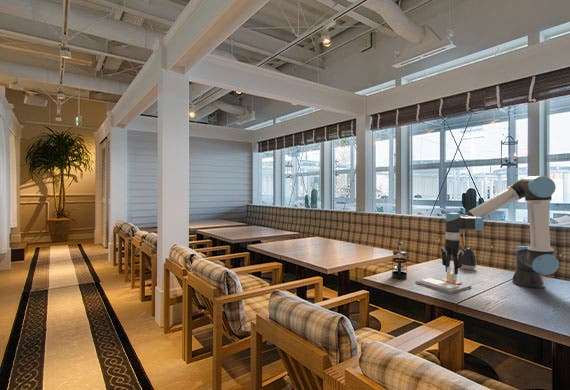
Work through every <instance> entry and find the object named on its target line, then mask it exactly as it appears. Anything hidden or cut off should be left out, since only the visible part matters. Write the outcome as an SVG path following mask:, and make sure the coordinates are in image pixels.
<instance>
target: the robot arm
mask: <svg viewBox="0 0 570 390" xmlns="http://www.w3.org/2000/svg"><path fill="white" fill-rule="evenodd" d="M555 183H556V182H554V180H553V179H551V178H550V177H549V176H545V175H534V176H532V175H531V176H524V177H522V178H520V179H519V180H517V181H515V182H513V183H512V184H510V185H509V186H507V187H506V189H505V190H504V191H501V192H500V193H498V194H496V195H495V196H493V197H491V198H489V199H488V200H485V201H484V202H483V203H480V204H479V205H477V206H476V207H474V208H472V209H469V210H468V211H467V212H464V213H462V214H460V213H459V212H447V213H446V214H445V231H444V234H445V239H444V245H445V246H444V247H443V248H440V252H441V261H442V262H441V264H442V266H444V267H445V273H447V272H453V280H456V279H458V278H457V276H458V274H459V269H463V268H462V260H463V255H464V252H463V251H462V250H461V249H460V243H461V241H460V238H461V234H460V233H461V230H467V231H468V230H470V231H481V230H483V228H484V225H485V223H484V218H485V217H487V216H489V215H491V214H492V213H495V212H497V211H498V210H500V209H501V208H503V207H505V206H507V205H508V204H511V203H512V202H515V201H519V200H522V199H523V198H524V200H525V202H527V204H528V215H529V216H528V217H529V220H528V221H529V236H530V237H529V238H530V239H529V242H530V245H518V246H517V247H516V250H515V251H516V254H515V256H516V257H515V260H516V262H515V272H514V274H513V276H512V277H511V282H512V284H514V285H516V286H520V287H525V288H530V289H531V288H533V289H542V288H544V286H545V285H544V284H545V283H544V279H543V277H542V275H543V276H544V275H545V276H547V275H553V274H554V273H555V272H556V271H557V270H558V269H559V266H560V262H559V259H558V258H557V257H556V256H555V249H554V248H553V247H551V236H550V215H549V214H550V212H549V203H550V202H551V201H552V199H553V198H552V197H553V194H554V193H555V192H556V188H557V186H556V184H555ZM451 258H452V260H453V268H452V267H451ZM456 281H457V280H456Z"/></svg>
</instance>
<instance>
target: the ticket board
mask: <svg viewBox="0 0 570 390" xmlns="http://www.w3.org/2000/svg"><path fill="white" fill-rule="evenodd" d="M443 279H446V278H445V277H441V276H438V275H436V276H432V277H431V276H430V277H426V278H423V279H418V280H415V284H417V285H419V286H424V287H427V288H429V289H434V290H437V291H439V292H444V293H446V294H449V295H452V294H455V293H460V292H464V291H467V290H470V289H472V285H471V284H467V283H463V282H462V284H459V285H454V284H452V283H448V282H444V281H441V280H443Z"/></svg>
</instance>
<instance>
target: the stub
mask: <svg viewBox="0 0 570 390" xmlns="http://www.w3.org/2000/svg"><path fill="white" fill-rule="evenodd" d="M457 279H458V278H457ZM457 279H456V280H453V271H451V272H446V278H445V279H443V280H441V281H444V282H448V283H452V284H454V285H459V284H462V283H463V282H462V281H458V280H457Z"/></svg>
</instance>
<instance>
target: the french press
mask: <svg viewBox="0 0 570 390" xmlns="http://www.w3.org/2000/svg"><path fill="white" fill-rule="evenodd" d="M396 244H398V246H401V245H402V244H404V242H403V241H397V242H396ZM407 254H408V251H406V250H401V248H399V249H396V250H395V249H394V250H392V255H393V256H396V255H399V257H392V259H391V263H392V264H391V270H392V271H391V278H392V279H393V280H397V281H407V280H408V268H407V267H404V266H402V264H408V259H407V258H404V257H407ZM401 255H402V256H403V258H402V257H401ZM393 263H397V266H396V265H395V266H393Z"/></svg>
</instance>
